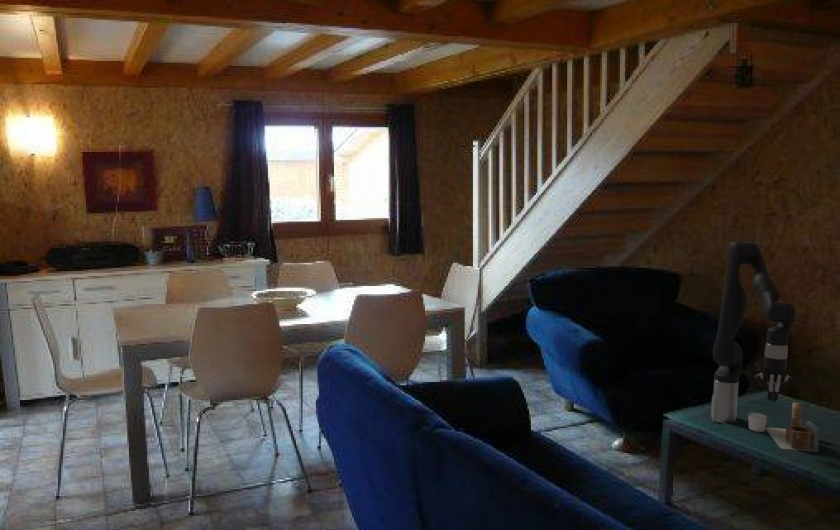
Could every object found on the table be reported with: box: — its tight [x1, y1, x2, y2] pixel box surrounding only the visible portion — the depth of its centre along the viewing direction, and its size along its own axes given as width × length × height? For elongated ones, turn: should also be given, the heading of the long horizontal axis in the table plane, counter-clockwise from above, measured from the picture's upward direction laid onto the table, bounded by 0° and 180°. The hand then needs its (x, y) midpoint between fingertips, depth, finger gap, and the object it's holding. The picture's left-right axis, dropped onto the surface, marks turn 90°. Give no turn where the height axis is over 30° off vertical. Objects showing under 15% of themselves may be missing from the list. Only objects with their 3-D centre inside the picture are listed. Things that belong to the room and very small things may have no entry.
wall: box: [805, 420, 821, 453], centre depth 256 cm, size 2×10×8 cm, turn 167°
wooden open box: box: [785, 424, 814, 449], centre depth 257 cm, size 7×8×6 cm
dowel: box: [790, 402, 803, 426], centre depth 269 cm, size 3×3×12 cm
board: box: [765, 426, 817, 453], centre depth 264 cm, size 12×23×1 cm, turn 167°
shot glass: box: [747, 411, 768, 432], centre depth 274 cm, size 7×7×7 cm
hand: (772, 400), depth 257 cm, fingers closed
